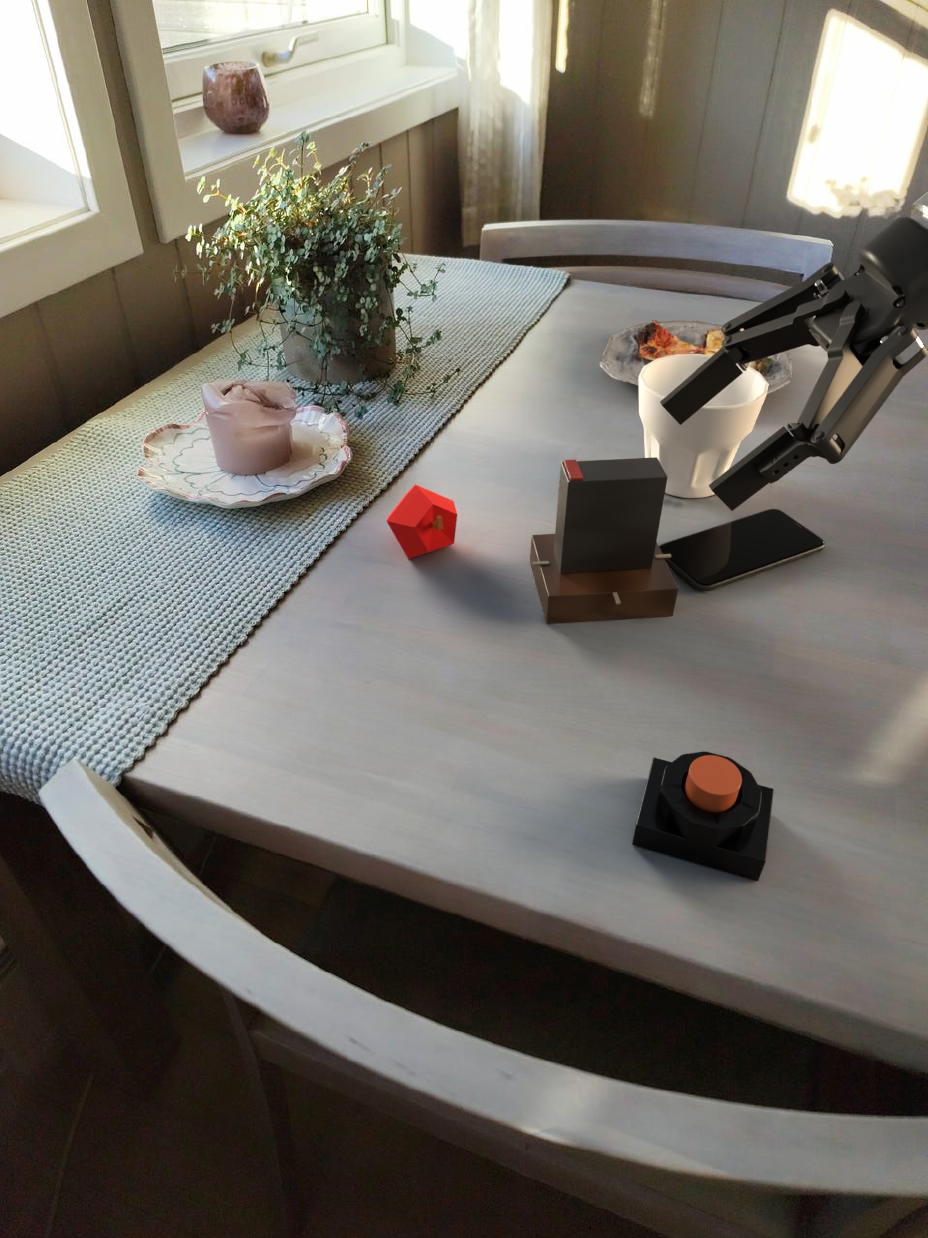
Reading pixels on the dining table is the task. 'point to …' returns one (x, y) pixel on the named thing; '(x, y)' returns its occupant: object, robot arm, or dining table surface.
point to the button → (713, 783)
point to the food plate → (679, 350)
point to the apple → (423, 522)
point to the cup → (696, 424)
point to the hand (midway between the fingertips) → (692, 453)
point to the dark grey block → (608, 514)
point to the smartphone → (740, 549)
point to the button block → (704, 821)
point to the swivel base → (600, 588)
